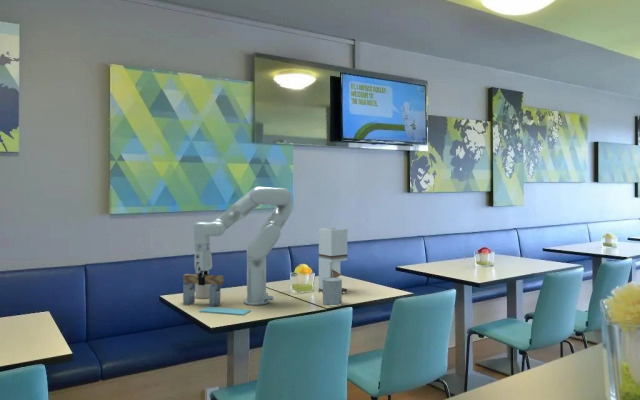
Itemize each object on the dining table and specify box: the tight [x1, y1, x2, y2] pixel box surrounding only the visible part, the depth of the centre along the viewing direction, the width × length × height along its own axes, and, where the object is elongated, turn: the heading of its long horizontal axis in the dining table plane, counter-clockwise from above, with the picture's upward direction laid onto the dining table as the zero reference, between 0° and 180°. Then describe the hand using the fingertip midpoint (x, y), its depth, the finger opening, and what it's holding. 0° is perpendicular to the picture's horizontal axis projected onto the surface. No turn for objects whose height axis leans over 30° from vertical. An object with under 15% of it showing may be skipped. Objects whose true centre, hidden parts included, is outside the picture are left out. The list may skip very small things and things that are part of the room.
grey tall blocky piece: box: [318, 227, 348, 294], centre depth 276 cm, size 11×11×35 cm
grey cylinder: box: [322, 277, 343, 306], centre depth 250 cm, size 10×10×12 cm
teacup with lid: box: [195, 284, 213, 300], centre depth 265 cm, size 12×9×12 cm
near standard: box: [208, 285, 221, 307], centre depth 245 cm, size 3×6×10 cm, turn 165°
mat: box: [198, 306, 252, 316], centre depth 234 cm, size 22×8×1 cm, turn 75°
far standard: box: [182, 283, 196, 306], centre depth 249 cm, size 3×6×10 cm, turn 165°
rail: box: [182, 273, 225, 286], centre depth 247 cm, size 20×3×4 cm, turn 75°
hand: (203, 284), depth 247 cm, fingers closed on rail, 3 cm apart
